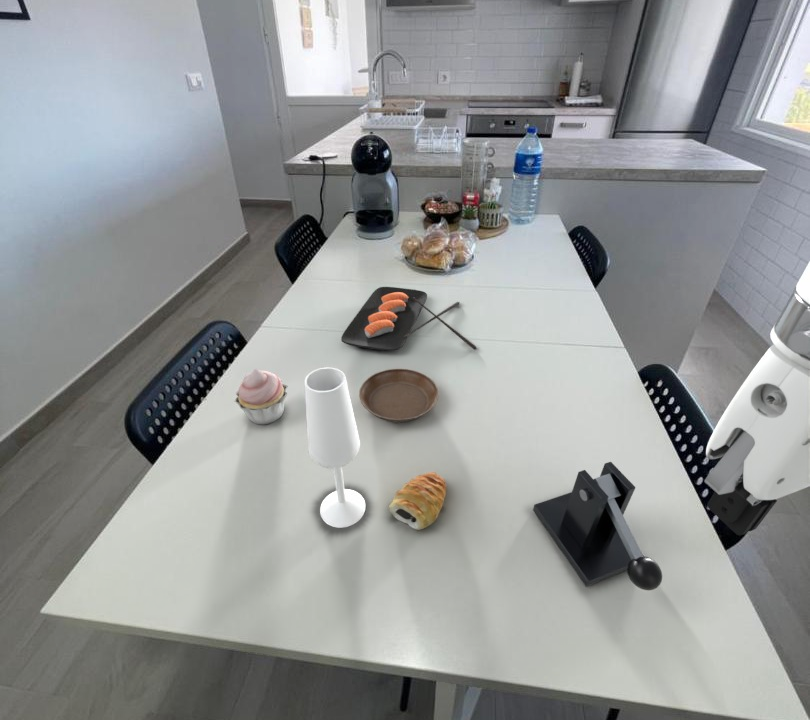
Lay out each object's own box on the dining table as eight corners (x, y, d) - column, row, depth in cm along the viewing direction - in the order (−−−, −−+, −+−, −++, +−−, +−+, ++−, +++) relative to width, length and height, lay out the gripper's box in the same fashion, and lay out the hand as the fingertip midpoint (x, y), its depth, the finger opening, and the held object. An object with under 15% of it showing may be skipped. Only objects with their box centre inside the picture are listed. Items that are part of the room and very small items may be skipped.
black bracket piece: (643, 563, 58) (674, 507, 52) (585, 586, 56) (610, 531, 49) (583, 492, 68) (603, 437, 61) (532, 510, 65) (547, 454, 58)
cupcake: (297, 397, 86) (289, 355, 80) (284, 432, 79) (274, 387, 73) (250, 395, 87) (239, 353, 81) (232, 429, 79) (218, 385, 73)
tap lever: (655, 584, 53) (675, 583, 50) (630, 595, 52) (650, 594, 49) (601, 477, 59) (617, 470, 55) (578, 485, 58) (593, 478, 55)
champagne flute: (356, 532, 62) (341, 402, 48) (312, 521, 64) (285, 392, 50) (372, 494, 68) (362, 367, 54) (331, 484, 69) (311, 358, 55)
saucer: (445, 386, 89) (446, 375, 87) (426, 437, 77) (426, 426, 76) (376, 373, 92) (375, 362, 91) (347, 420, 81) (346, 409, 79)
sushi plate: (378, 291, 122) (377, 278, 120) (488, 304, 116) (489, 291, 114) (337, 349, 100) (335, 334, 98) (470, 369, 93) (472, 354, 91)
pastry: (419, 472, 71) (420, 456, 69) (457, 492, 68) (459, 475, 66) (385, 515, 65) (385, 498, 62) (425, 538, 62) (426, 522, 59)
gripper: (839, 399, 22) (699, 590, 33) (1013, 341, 26) (837, 528, 37) (708, 325, 28) (625, 508, 38) (867, 287, 32) (752, 462, 42)
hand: (729, 518), depth 37 cm, fingers closed
